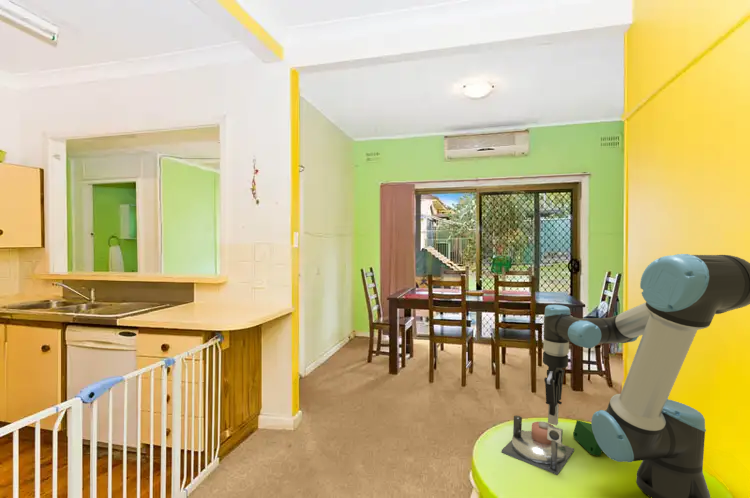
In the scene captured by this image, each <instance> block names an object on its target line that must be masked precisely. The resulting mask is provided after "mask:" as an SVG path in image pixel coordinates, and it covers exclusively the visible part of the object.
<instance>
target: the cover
mask: <svg viewBox="0 0 750 498" xmlns="http://www.w3.org/2000/svg"><path fill="white" fill-rule="evenodd" d="M549 425H550V426H553V427H555V425H553V424H550V423H548V422H545V421H534V422H532V423H531V431H532V432H531V436H532V438H533V439H534V440H535V441H537V442H540V443H543V444H551V440H548V439H547V432H548V426H549Z"/></svg>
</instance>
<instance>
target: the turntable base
mask: <svg viewBox="0 0 750 498" xmlns="http://www.w3.org/2000/svg"><path fill="white" fill-rule="evenodd" d="M553 426H554V425H553ZM553 426H550V425H549V426H548V432H547V439H548V440H551V464H545V463H539V462H535V461H532V460H529V459H527V458H525V457H523V456H521V455H520V454H518V453H517V452H516V451H515V450H514V449H513V446H512V439H511V440H510V441H509V442H508V443H507V444H506V445H505V446H504V447H503V448H502V449H501V453H502V454H503V455H507V456H510V457H512V458H514V459H517V460H519V461H522V462H524V463H527V464H529V465H532V466H534V467H536V468H538V469H541V470H544V471H546V472H548V473H550V474H553V475H556V476H558V475H559V474H560V472H561V471H562V469H563V468H564V467H565V465H566V464H567V463H568V460H569V459H570V458H571V456H572V455H573V453H574V452H575V448H573V447H572V446H571V447H570V446H568V445H566V444H563V433H564V432H563V431H564V430H563V429H562V428H559V427H556V426H554V427H553ZM522 431H524V430H523V429H521V432H522ZM558 443H560V444H561V443H562V444H563V445H564V446H565V448H566V456H565V459H564V460H563V461H561V462H559V463H557V449H558Z"/></svg>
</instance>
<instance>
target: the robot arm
mask: <svg viewBox="0 0 750 498" xmlns="http://www.w3.org/2000/svg"><path fill="white" fill-rule="evenodd" d="M639 284H640V286H639V288H640V289H641V290H642V291H641V296H642V298H643V299H644V301H645V302H644V303H641V304H639V305H637V306H634V307H632V308H630V309H627V310H625V311H623V312H620V313H619V314H617V315H614V316H611V317H598V318H597V317H596V318H594V317H592V318H589V317H587V318H578V317H574V316H572V315H571V308H569V307H568V306H565V305H561V304H548V305H546V306H545V308H544V316H543V340H542V341H541V343H542V344H543V353H542V363H543V364H544V365H545V366H547V367H548V369H547V370H546V376H547V377H544V381H543V382H544V384H545V404H546V405H548V412H547V423H549V424H551V425H553V426H555V427H556V426H558V425H559V410H560V409H559V406H560V405H562V403H563V401H561V400H562V394H563V393H562V392H563V383H564V376H565V368H567V367H568V366H569V352H570V350H569V348H570V343H572V344H573V345H575V346H578V347H579V348H580V347H581V348H585V349H592V348H594V347H596V346H598V345H600V344H601V345H602V344H617V343H618V344H619V343H620V344H626V343H632V342H635V341H637V339H638V338H639V337H640V336H641V339H640V341H639V344H638V346H637V349H636V352H635V354H634V357H633V360H632V362H631V365H630V367H629V370H628V374H627V376H626V378H625V381H624V383H623V387H622V389H621V391H620V393H616V394H614V395H613V396H611V397H610V400H609V403H608V405H607V407H606V409H605V410H603V409H600V410H598V411H595V412H594V413H593V414H592V417H591V423H590V424H592V431H593V434H594V436H595V439H596V441H597V443H598V445H599V447H600V448H601V449H602V452H603V453H604V454H605V455H606V456H607V458H610V460H613V461H615V462H618V463H619V462H620V463H621V462H622V463H623V462H624V463H626V462H627V463H632V462H639V461H641V463H640V465H639V467H638V469H637V471H636V481H635V482H636V484H637V487H639V489H640V490H641V491H642V493H644V494H645V495H646V494H647V495H646V496H648V495H649V496H650V497H652V498H711V494H710V491H709V488H708V484H707V482H706V479H705V475H704V473H703V472H704V471H703V466H704V456H705V455H704V452H705V440H706V439H705V437H706V433H707V430H706V420H705V416H704V415H703V414H702V413H701V412H700V411H698V410H697V409H695V408H694V407H691V406H689V405H687V404H685V403H682V402H679V401H676V400H672V399H669V396H670V394H671V391H672V389H673V387H674V385H675V382H676V381H677V379H678V375H679V373H680V372H681V369H682V366H683V364H684V362H685V360H686V358H687V355H688V353H689V350H690V348H691V346H692V343H693V341H694V338H695V336H696V334H697V332H698V331H699V330H703V329H707V328H708V327H710V326H711V324H712V322H713V319H714V317H715V315H721V314H724V313H727V312H729V311H731V312H732V311H734V310H738V309H741V308H744V307H747V306H750V262H749V261H748V260H745V259H743V258H741V257H738V256H735V255H729V254H689V253H680V254H679V253H677V254H674V255H671V254H670V255H664V256H661V257H659V258H656V259H654V260H653V261H651V262H650V263H649V264H648V265H647V266H646V267H645V270H644V271H643V273H642V274H641V278H640V283H639ZM649 496H648V497H649ZM650 497H649V498H650Z"/></svg>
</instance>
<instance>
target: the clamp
mask: <svg viewBox="0 0 750 498" xmlns="http://www.w3.org/2000/svg"><path fill="white" fill-rule="evenodd" d="M572 436H573V438H574V440H575V441H576V442H578V443H579V444H580V446H582V447H583V448H584V450H586V451H587V452H588V453H589V454H590V455H593V456H596V457H597V456H599V457H600V456H601V454H602V452H603V451H602V449H601V448H600V447H599V445H598V443H597V441H596V439H595V436H594V434H593V431H592V424H591V423H590V422H586V421H582V420H576V422H575V426H574V429H573V432H572Z"/></svg>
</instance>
